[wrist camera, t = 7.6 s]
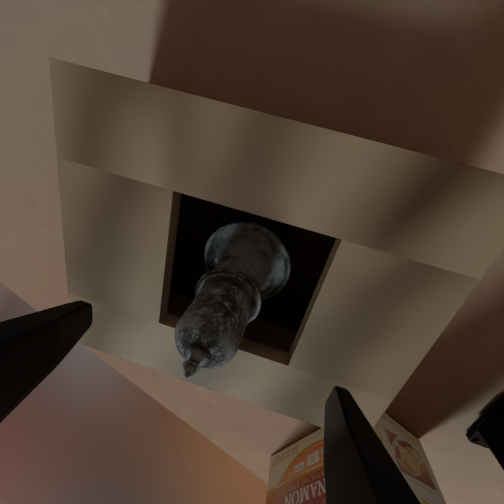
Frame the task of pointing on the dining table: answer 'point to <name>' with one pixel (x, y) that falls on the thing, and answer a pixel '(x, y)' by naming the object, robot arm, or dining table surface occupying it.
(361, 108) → the dining table surface
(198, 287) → the grey chess piece
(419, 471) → the coffeecake box
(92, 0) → the dining table surface
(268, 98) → the dining table surface
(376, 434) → the robot arm
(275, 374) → the beige rectangular hollow block
